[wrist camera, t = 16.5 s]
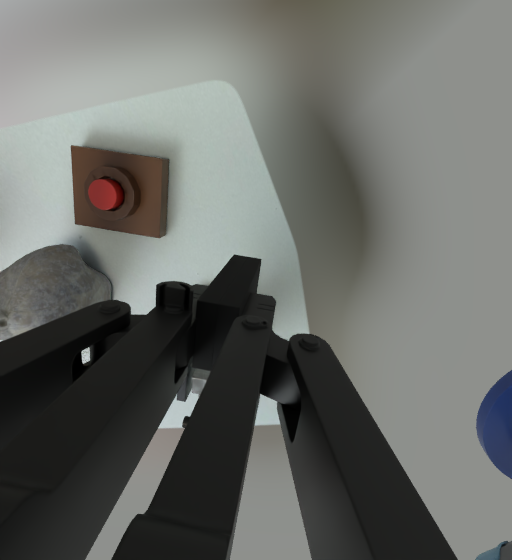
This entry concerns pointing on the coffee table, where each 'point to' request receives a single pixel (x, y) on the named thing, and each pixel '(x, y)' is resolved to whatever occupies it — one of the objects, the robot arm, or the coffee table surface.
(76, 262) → the decorative stone
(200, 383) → the lever
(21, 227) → the coffee table surface
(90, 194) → the button
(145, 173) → the button block
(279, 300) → the coffee table surface
